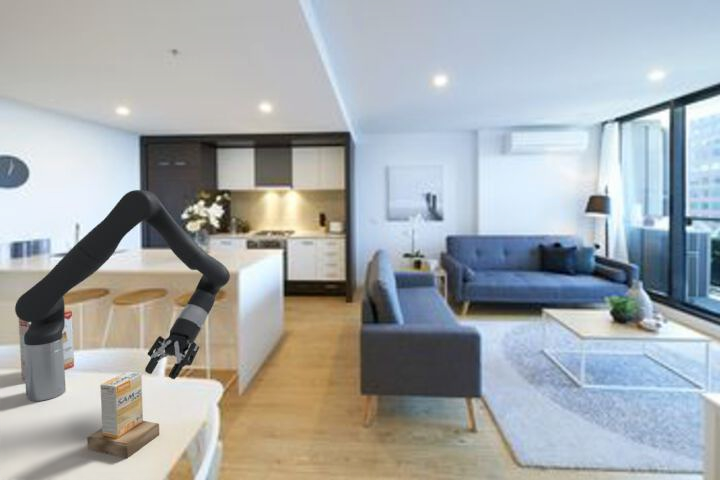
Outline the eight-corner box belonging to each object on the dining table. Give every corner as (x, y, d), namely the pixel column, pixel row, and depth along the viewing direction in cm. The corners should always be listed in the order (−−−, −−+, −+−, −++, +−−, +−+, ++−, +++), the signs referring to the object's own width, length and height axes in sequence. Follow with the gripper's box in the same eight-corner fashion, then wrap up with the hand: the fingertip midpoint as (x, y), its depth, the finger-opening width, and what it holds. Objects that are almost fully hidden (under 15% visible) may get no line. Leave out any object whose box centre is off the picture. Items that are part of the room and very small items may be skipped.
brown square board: (87, 449, 99) (87, 436, 99) (122, 427, 109) (121, 415, 108) (127, 458, 96) (127, 445, 96) (159, 434, 105) (159, 422, 105)
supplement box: (117, 439, 98) (115, 387, 96) (101, 436, 99) (99, 384, 98) (144, 421, 106) (142, 372, 104) (129, 418, 107) (127, 370, 106)
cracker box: (32, 382, 134) (28, 320, 132) (21, 379, 136) (16, 318, 134) (75, 366, 147) (72, 309, 145) (64, 363, 149) (61, 308, 147)
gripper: (163, 314, 121) (131, 365, 112) (201, 319, 116) (171, 374, 107) (178, 326, 127) (148, 376, 117) (215, 332, 122) (187, 385, 112)
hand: (159, 375), depth 112 cm, fingers open, 8 cm apart
